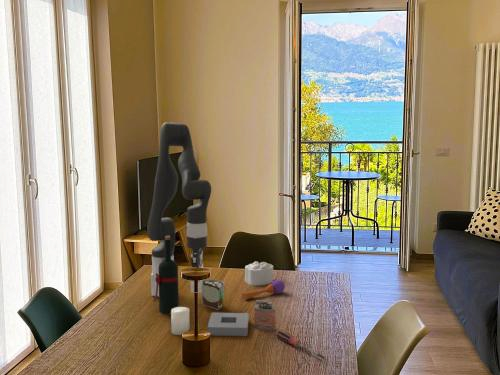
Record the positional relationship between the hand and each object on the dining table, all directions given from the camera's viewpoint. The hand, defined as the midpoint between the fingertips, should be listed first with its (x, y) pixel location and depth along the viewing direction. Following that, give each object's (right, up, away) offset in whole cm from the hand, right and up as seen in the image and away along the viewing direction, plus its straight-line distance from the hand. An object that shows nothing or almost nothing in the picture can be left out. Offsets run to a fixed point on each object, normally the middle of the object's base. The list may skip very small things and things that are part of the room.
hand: (196, 279), depth 198 cm
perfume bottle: (+25, -17, -3) cm, 30 cm away
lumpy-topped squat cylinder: (+24, -10, +52) cm, 58 cm away
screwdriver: (+36, -20, -20) cm, 46 cm away
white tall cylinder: (0, -4, +1) cm, 4 cm away
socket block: (+12, -17, -3) cm, 21 cm away
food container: (+6, -14, +20) cm, 25 cm away
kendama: (+26, -13, +32) cm, 43 cm away
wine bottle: (-13, -15, +14) cm, 24 cm away
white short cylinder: (-5, -17, -7) cm, 19 cm away
